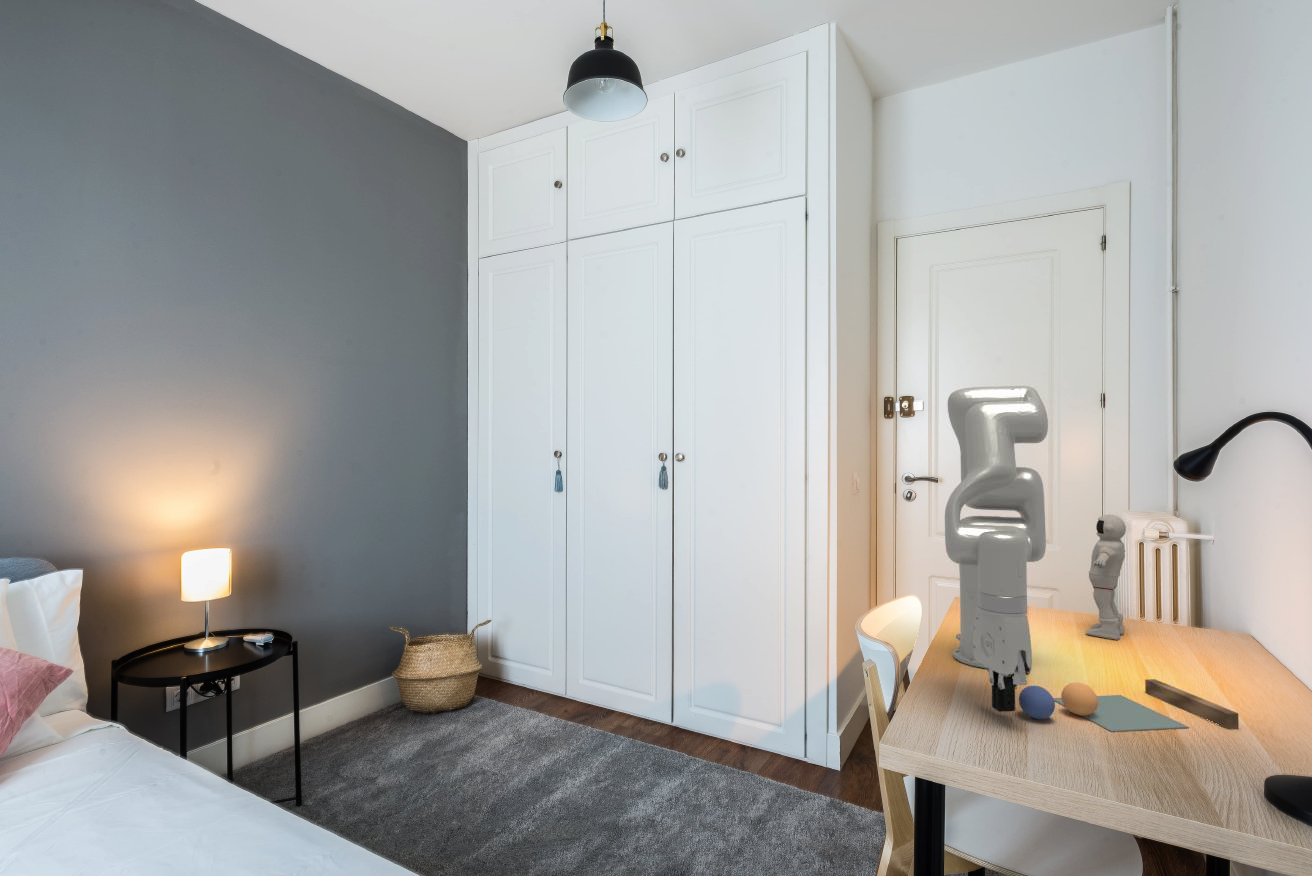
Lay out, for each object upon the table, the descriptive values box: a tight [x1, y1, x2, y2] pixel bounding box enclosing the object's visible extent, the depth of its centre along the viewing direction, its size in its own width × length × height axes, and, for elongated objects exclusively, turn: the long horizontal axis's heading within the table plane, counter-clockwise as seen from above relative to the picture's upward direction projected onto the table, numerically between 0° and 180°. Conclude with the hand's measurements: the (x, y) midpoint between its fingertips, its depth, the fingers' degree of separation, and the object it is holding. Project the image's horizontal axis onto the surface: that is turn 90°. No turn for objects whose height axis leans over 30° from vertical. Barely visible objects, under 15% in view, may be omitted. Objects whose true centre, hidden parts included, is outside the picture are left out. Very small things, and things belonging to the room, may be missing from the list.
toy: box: [1085, 514, 1127, 641], centre depth 161 cm, size 29×8×30 cm, turn 136°
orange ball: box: [1060, 682, 1098, 717], centre depth 113 cm, size 5×5×5 cm
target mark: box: [1053, 694, 1190, 733], centre depth 114 cm, size 14×14×1 cm
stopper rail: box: [1144, 678, 1240, 730], centre depth 115 cm, size 16×2×2 cm, turn 6°
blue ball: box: [1018, 685, 1056, 720], centre depth 112 cm, size 5×5×5 cm
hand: (1003, 709), depth 112 cm, fingers closed
